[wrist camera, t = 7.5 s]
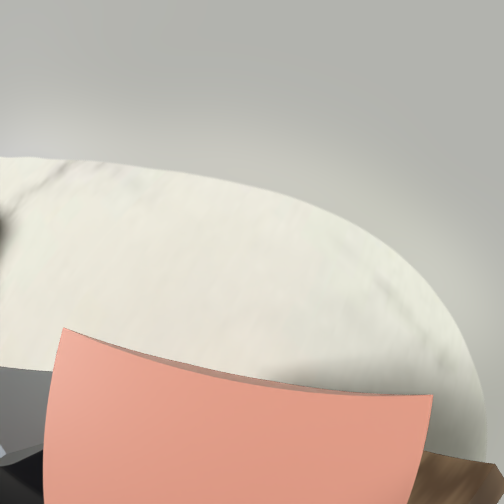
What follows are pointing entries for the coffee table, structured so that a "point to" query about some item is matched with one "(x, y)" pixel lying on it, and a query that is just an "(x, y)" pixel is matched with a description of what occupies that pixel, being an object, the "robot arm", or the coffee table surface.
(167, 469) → the salmon block
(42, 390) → the slate pillar
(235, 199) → the coffee table surface
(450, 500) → the walnut pillar
